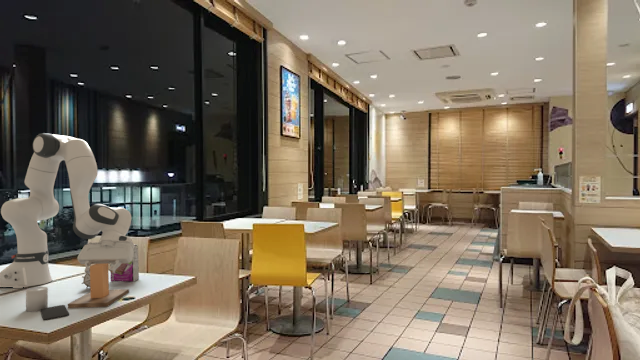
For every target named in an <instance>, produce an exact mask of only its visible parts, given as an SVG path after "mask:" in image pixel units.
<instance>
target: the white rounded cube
mask: <svg viewBox="0 0 640 360" xmlns="http://www.w3.org/2000/svg"><path fill="white" fill-rule="evenodd" d="M48 291H49V288H48V286H32V287H29V288H27V289H26V290H25V311H26V312H31V313H33V312H41V309H44V308H48V305H49V303H48V300H49V297H48V296H49V295H48V293H49V292H48Z"/></svg>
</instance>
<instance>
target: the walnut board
mask: <svg viewBox="0 0 640 360" xmlns="http://www.w3.org/2000/svg"><path fill="white" fill-rule="evenodd" d="M129 293H130V289H129V288H126V289H125V288H124V289H123V288H121V289H118V288H117V289H109V294H108V295H107V296H105V297H103V298H91V291H90V292H88V293H86V294H84V295H82V296H80V297H78V298H77V299H75V300H73V301H70V302H68V303H67V309H74V308H75V309H76V308H77V309H79V308H80V309H81V308H83V309H85V308H107V307H109V306H111V305H112V304H114V303H116V302H117V301H119V300H120V299H121V298H124V297H125V296H126V295H128V294H129Z"/></svg>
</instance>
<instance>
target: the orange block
mask: <svg viewBox="0 0 640 360" xmlns="http://www.w3.org/2000/svg"><path fill="white" fill-rule="evenodd" d="M89 267H90V287H89V289H90V290H89V291H90V292H91V298H103V297H105V296H107V295H108V294H109V290H110V287H109V286H110V283H109V264H108V263H107V264H91V265H90V266H89Z"/></svg>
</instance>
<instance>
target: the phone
mask: <svg viewBox="0 0 640 360" xmlns="http://www.w3.org/2000/svg"><path fill="white" fill-rule="evenodd" d="M40 313H41V317H42V320H43V321H50V320H54V319H60V318H66V317H68V316H70V313H69V311H68V308H67V307H66V305H64V304H60V305H55V306H49V307H47V308H44V309H41V311H40Z"/></svg>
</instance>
